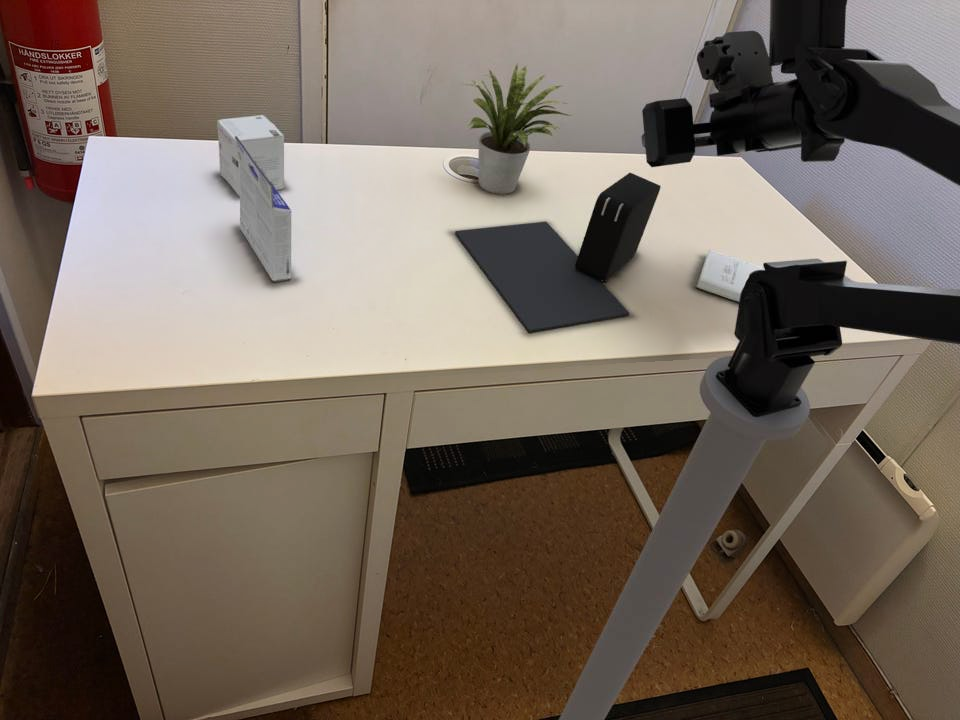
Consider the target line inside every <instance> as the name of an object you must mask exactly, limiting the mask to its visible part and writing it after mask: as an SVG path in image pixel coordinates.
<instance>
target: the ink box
mask: <svg viewBox="0 0 960 720" xmlns="http://www.w3.org/2000/svg"><path fill="white" fill-rule="evenodd" d="M235 139H236V144H237V151H238V158H239V168H240V196H239V229H240V231H241V232H242V234H243V235H244V237H245V239H246V240H247V242H248V244H249V246H250V247H251V248H252V250H253V252H254V253H255V255H256V256H257V258H258V260H259V262H260V263H261V265H262V267H263V268H264V270H265V271H266V273H267V274H268V276H269V278H270V279H271V281H272V282H281V281H282V282H283V281H287V280H291V279H292V209H291V208H290V207H289V205H288V204H287V202H286V201H285V200H284V199H283V197H282V196H281V194H280V193H279V191H278V190H276V189H275V187H274V186H273V185H274V183H272V182H271V181H270V180H269V179H268V177H267V176H266V175H265V173H264V172H263V171H262V169H261V168H260V166H259V165H258V163H257V162H256V161H254V159H253V158H252V156H251V155H250V153H249V152H248V151H247V149H246V148H245V147H244V145H243V144H242V142H241V141H240V140H239V138H238V137H237V136H235Z"/></svg>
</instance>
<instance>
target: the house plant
mask: <svg viewBox="0 0 960 720" xmlns="http://www.w3.org/2000/svg"><path fill="white" fill-rule="evenodd" d="M518 64H519V63H516V65H515V67H514V70H513V72H512V75H511V79H510V84H509V89H508V94H507V97H506V105H505V104H504V97H503V91H502V88H501V85H500V82H499V80H498V79H497V77H496V76H495V74H494V73H493V72H492V70H490V69H488V72H489V75H488V74H485V76H486V77H488V78H490V79H491V82H492V87H493V91H494V94H495V101H496V105H495V101H494V98H493V96H492V94H491V92H490V90H489V89H488V87H487V85H486V83H485V82H484V80H482V79H480V78H479V77H477V79H478V80H479V82H481V83H482V84H483V86H484V88H485V89H486V90H484V89H483V88H482V87H481V85H479V84H478V83H477V82H475V80H473V79H471V81H472V82H473V84H470V83H466V84H465V83H464V84H463V83H461V86H462V85H463V86H471V87H476V88H477V89H478V91H479V92H480V94H481V95H482V96H483V98H479V97H478V98H477V97H476V98H473V103H475V104H476V105H477V106H478V107H479V108H480V109H481V110H482V111H483V112H484V113H485V114H486V116H487V118H488V119H489V121H490V124H491V125H490V124H488V123H487V122H486V121H485V120H484V119H483V118H480V117H477V116H475V117H473V118H472V119H471V121H470V123H469V125H468V127H470V126H471V127H470V128H469V130H468V131H470V130H473V129H481V128H482V129H484V128H485V129H488V130H489V131H486V132H483V133H481V134H480V135H479V136H478V185H479V186H480V188H482V189H483V190H485V191H487V192H489V193H493V194H498V195H499V194H500V195H506V194H510V193H513V192H514V191H515V189H516V188H517V184H518V182H519V180H520V177H521V175H522V171H523V169H524V166H525V163H526V161H527V159H528V157H529V153H530V151H531V144H530V142H529V137H528V136H529V135H532V134H533V133H534V134H535V133H536V134H545V135H549V136H552V137H554V135H553V133H552V132H551V130H550V129H548V128H552V129H554V130H555V131H557V129H559V127H557V126H555V125H553V124H552V123H551V122H549V121H548V120H543V119H542V120H540V119H539V120H534V121H532V120H533V119H534V118H536V117H539V116H541V115H542V116H543V115H562V116H567V117H568V116H569V117H571V116H572V115H571V114H567V113H564V112H561V111H558V110H556V109H557V108H555V107H554V106H552V105H547V104H562V105H568V103H567V102H563V101H557V100H546V101H543V100H544V99H545V98H546V97H547V96H548V95H549V94H550V93H551V92H553V91H555V90H557V89H559V88H561V87H562V85H554V86H551V87H548V88H546V89H544V90H543V91H541V92H540V93H539V94H537V95H536V96H534V97H533V98H532V99H530V100H529V101H528V102H525V100H526V99H527V97H528V96H529V95H530V94H531V92H532V91H533V90H534V88H535V87H536V86H537V85H538V84H539V83H540V82H541V81H542V80H543V78H544V77H545V76H546V74H543V75H542V76H540V77H539V78H537V79H536V80H534V81H533V82H532V83H531V84H530V85H528V86H527V87H526V74H527V65H526V66H523V67H522V68H521V69H520V70H519V72H518V69H519V67H518V66H519V65H518ZM525 87H526V88H525ZM541 101H542V102H541ZM524 102H525V103H524ZM544 104H545V105H544ZM523 105H525V106H524V107H523V109H521V112H519V111H520V108H521V107H522V106H523ZM540 105H541V106H540ZM536 106H538V107H537V108H535V109H533V108H534V107H536ZM545 108H550V109H545ZM518 112H519V113H518ZM530 121H531V122H530ZM535 125H542V126H537V127H532V126H535ZM530 127H531V128H530Z"/></svg>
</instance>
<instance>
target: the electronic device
mask: <svg viewBox="0 0 960 720" xmlns="http://www.w3.org/2000/svg"><path fill="white" fill-rule="evenodd" d="M661 188H662V187H661V185H660V184H658V183H656V182H654V181H651V180H648V179H647V178H644V177H642V176H639V175H637V174H635V173H633V172H628V173H627V174H625V175H624V176H623V177H621V178H620V179H618V180H617V181H615V182H614V183H613V184H611V185H610V186H608V187H607V188H606V189H604V190H602V192H600V193H599V195H598V196H597V198H596V201H595V203H594V206H593V209H592V212H591V215H590V219H589V222H588V224H587V228H586V231H585V233H584V236H583V240H582V243H581V246H580V249H579V251H578V254H577V256H578V258H577V261H576V264H575V268H577V269H579V270H581V271H583V272H585V273H587V274H589V275H591V276H593V277H595V278H597V279H599V280H600V281H601V282H603V283H606V282H607V281H608V280H610V279H611V278H612V277H613V276H614V275H615V274H616V273H617V272H618V271H620V269H622V268H623V267H625V265H626V264H627V263H628V262H629V261H631V259H632V258H634V256H635V255H636V253H637V250H638V249H639V246H640V243H641V240H642V238H643V235H644V233H645V230H646V228H647V225H648V223H649V220H650V218H651V215H652V212H653V210H654V207H655V204H656V201H657V199H658V196H659V194H660V190H661Z"/></svg>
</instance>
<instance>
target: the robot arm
mask: <svg viewBox="0 0 960 720" xmlns="http://www.w3.org/2000/svg"><path fill="white" fill-rule="evenodd" d="M847 4H848V0H769V44H768V45H769V46H768V50H767V47H766V44H765V41H764V38H763V35H761V33H759V32H758V31H757V30H743V31H742V30H741V31H740V30H739V31H728V32H725V33H724V34H723V35H722V36H715V38H713V39H711V40H705V42H703V47H702V48H701V49H700V51H698V53H697V56H696V62H697V66H698V69H699V73H700V75H701V78H702V79H703V80H704V81H712V82H713V85H714V87H715V89H716V91H717V92H714V93H709V94H708V99H709V108H712V109H713V110H712V111H711V114H710V117H709V121H708V122H701V123H694V113H693V105H692V104H691V103H690V102H689V100H688V99H687V97H682V98H672V99H661V100H655V101H652V102H649V103H646V104H645V105H644V107H643V108H642V109H641V113H642V125H643V134H642V135H641V145H642V147H644V149H645V159H646V163H647V164H648V166H650V167H651V168H657V167H658V168H659V167H664V166H665V167H666V166H673V165H679V164H686V163H691V162H692V160H693V158H694V155H695V153H696V149H697V148H705V147H713V146H716V156H717V157H720V156H728V155H736V154H742V153H749V152H750V153H752V152H756V153H764V152H769V153H771V152H777V151H783V150H790V149H798V148H800V160H801V162H803V163H822V162H823V163H824V162H826V163H827V162H828V163H829V162H834V161H835V160H836V159H837V157H838V155H839V154H840V152H841V151H840V150H841V146H843V145H844V144H845V141H846V140H848V141H851V142H855V143H861V144H865V145H871V146H877V147H882V148H886V149H889V150H892V151H896V152H898V153H899V154H902V155H903V156H905V157H907V158H909V159H911V160H912V161H913V162H916V163H917V164H919V165H920V166H923V167H925V168H926V169H928V170H930V171H932V172H934V173H936V174H938V175H939V176H941V177H943V178H945V179H946V180H948V181H950V182H951V183H953V184H955V185H957V186H959V187H960V108H957V107H955V106H953V105H952V104H951V103H950V102H948V101H947V100H945V99H944V98H943V97H942V96H941V94H940V91H939V90H938V87H937V85H936V84H935V83H934V82H932V80H930V79H928V77H926V76H925V75H923V74H922V73H921V72H920V71H918V70H917V69H915V67H913V66H911V65H910V64H909V63H906V62H902V61H896V60H895V61H894V60H893V61H890V60H884V59H883V58H882V57H880V56H879V55H877V54H876V53H875V52H873V51H871V50H870V49H868V48H853V47H852V48H851V47H845V44H846V43H845V42H846V16H847ZM768 51H769V52H768ZM776 66H780V73H781V74H785V75H786V74H789V75H791V74H794V75H795V78H793V79H789V80H786V81H776V82H774V78H773V74H772V72H773V67H776ZM708 134H709V135H708ZM699 135H705V136H699ZM706 135H707V136H706ZM695 136H697V137H695ZM847 264H848V260H837V261H824V260H822V259H820V258H818V257H817V258H806V259H794V260H793V259H792V260H783V261H781V260H780V261H767V262H763V264H762V267H763V268H764V270H756V271H753V272H752V273H750V274H749V278H748V279H747V281H746V283H745V285H744V288H743V289H742V291H741V295H740V301H739V302H738V308H737V315H736V319H735V326H734V333H733V335H734V336H735V338H736V339H737V341H738V343H737V345H736V347H735V349H734V351H733V353H732V355H731V356H732V357H731V359H730V361H729V363H728V367H729V369H727V370H722V371H718V372H717V374H716V378H717V379H718V380H719V381H720V382H721V383H722V384H723V385H724V387H725V388H726V389H727V390H728V391H729V392H730V393H731V394H732V395H733V396H734V397H735V398H736V399H737V400H738V401H739V402H740V403H741V404H742V406H743V407H744V408H745V409H746V410H747V411H748V412H749V413H750V414H751V415H752V416H754V417H760V416H764V415H768V414H771V413H775V412H779V411H783V410H787V409H790V408H794V407H798V406H800V404H801V402H802V401H801V400H800V399H799V398H798V397H797V396H796V394H797V393H798V391H799V389H800V387H801V388H802V385H803V384H804V382H805V381H806V379H807V377H808V376H809V373H810V372H811V370H812V369H813V367H814V365H815V364H816V361H815V360H814V359H813V358H812V357H818V356H831V354H833V353H834V352H836V351H837V350H838V349H840V348H841V347H842V346H843V337H842V332H841V331H842V330H841V328H844V329H849V330H850V329H851V330H857V331H864V332H865V331H867V332H872V333H878V334H885V335H892V336H899V337H907V338H912V339H920V340H927V341H933V342H941V343H947V344H953V345H954V344H955V345H960V289H955V288H954V289H953V288H941V287H927V286H914V285H913V286H912V285H901V284H890V283H889V284H887V283H885V284H884V283H875V282H863V281H862V282H860V281H855V280H852V279H851V278H849V277H848V276H847V275H846V269H847Z"/></svg>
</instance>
